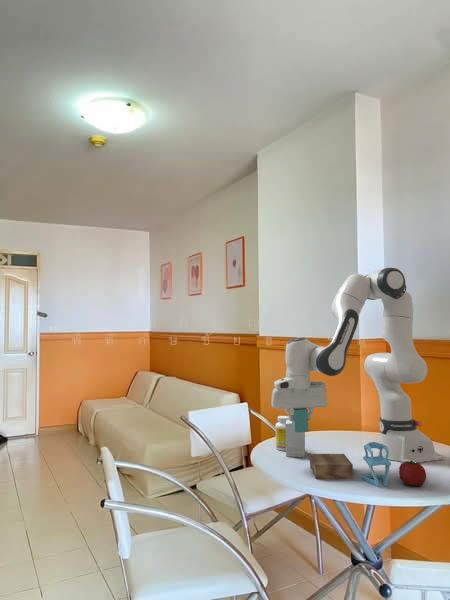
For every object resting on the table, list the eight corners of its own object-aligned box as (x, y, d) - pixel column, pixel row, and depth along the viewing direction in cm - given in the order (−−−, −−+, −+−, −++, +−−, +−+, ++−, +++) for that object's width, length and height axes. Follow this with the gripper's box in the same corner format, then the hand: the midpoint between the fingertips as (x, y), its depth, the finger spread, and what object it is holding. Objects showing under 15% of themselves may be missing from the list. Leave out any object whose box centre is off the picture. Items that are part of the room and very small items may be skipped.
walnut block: (344, 468, 151) (344, 453, 152) (353, 480, 139) (352, 464, 140) (310, 468, 152) (309, 453, 152) (315, 480, 140) (315, 464, 140)
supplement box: (305, 457, 163) (304, 423, 164) (285, 456, 164) (284, 423, 165) (305, 452, 170) (304, 419, 171) (286, 451, 171) (286, 419, 172)
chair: (370, 487, 132) (369, 448, 133) (360, 477, 140) (359, 440, 141) (395, 486, 132) (393, 447, 133) (383, 477, 141) (382, 440, 141)
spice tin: (305, 428, 160) (304, 406, 160) (308, 431, 155) (307, 409, 155) (291, 429, 159) (291, 407, 160) (295, 432, 154) (294, 409, 155)
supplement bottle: (293, 451, 171) (292, 418, 172) (276, 451, 172) (276, 418, 172) (291, 446, 178) (290, 415, 179) (275, 446, 178) (274, 415, 179)
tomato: (400, 478, 139) (400, 455, 140) (427, 482, 135) (427, 459, 136) (396, 486, 133) (395, 462, 133) (425, 491, 129) (424, 466, 129)
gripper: (323, 380, 162) (325, 417, 161) (269, 382, 160) (271, 419, 160) (328, 382, 155) (330, 420, 155) (272, 384, 154) (274, 423, 153)
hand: (299, 420), depth 157 cm, fingers closed on spice tin, 5 cm apart
